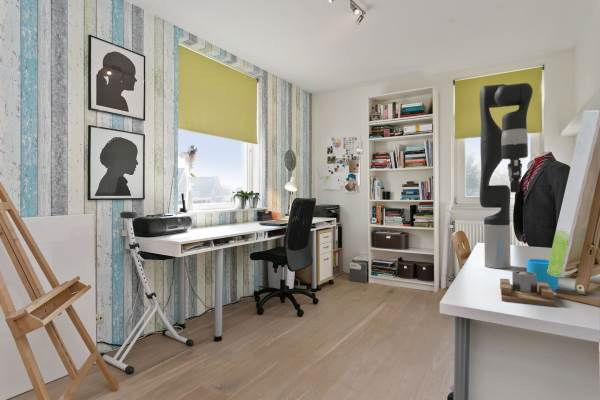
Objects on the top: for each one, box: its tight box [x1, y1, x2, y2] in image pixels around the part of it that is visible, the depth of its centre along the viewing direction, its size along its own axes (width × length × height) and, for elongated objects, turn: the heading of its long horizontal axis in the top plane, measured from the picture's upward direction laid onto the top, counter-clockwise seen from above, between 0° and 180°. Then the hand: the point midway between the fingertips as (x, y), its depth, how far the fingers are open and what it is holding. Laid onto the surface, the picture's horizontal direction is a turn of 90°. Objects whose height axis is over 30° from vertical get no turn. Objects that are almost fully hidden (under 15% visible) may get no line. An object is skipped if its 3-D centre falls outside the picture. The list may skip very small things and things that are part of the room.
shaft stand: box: [499, 271, 556, 307], centre depth 101 cm, size 16×12×6 cm
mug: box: [526, 258, 560, 291], centre depth 112 cm, size 12×8×8 cm
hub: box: [511, 270, 537, 294], centre depth 101 cm, size 6×6×5 cm
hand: (515, 192), depth 117 cm, fingers open, 8 cm apart
